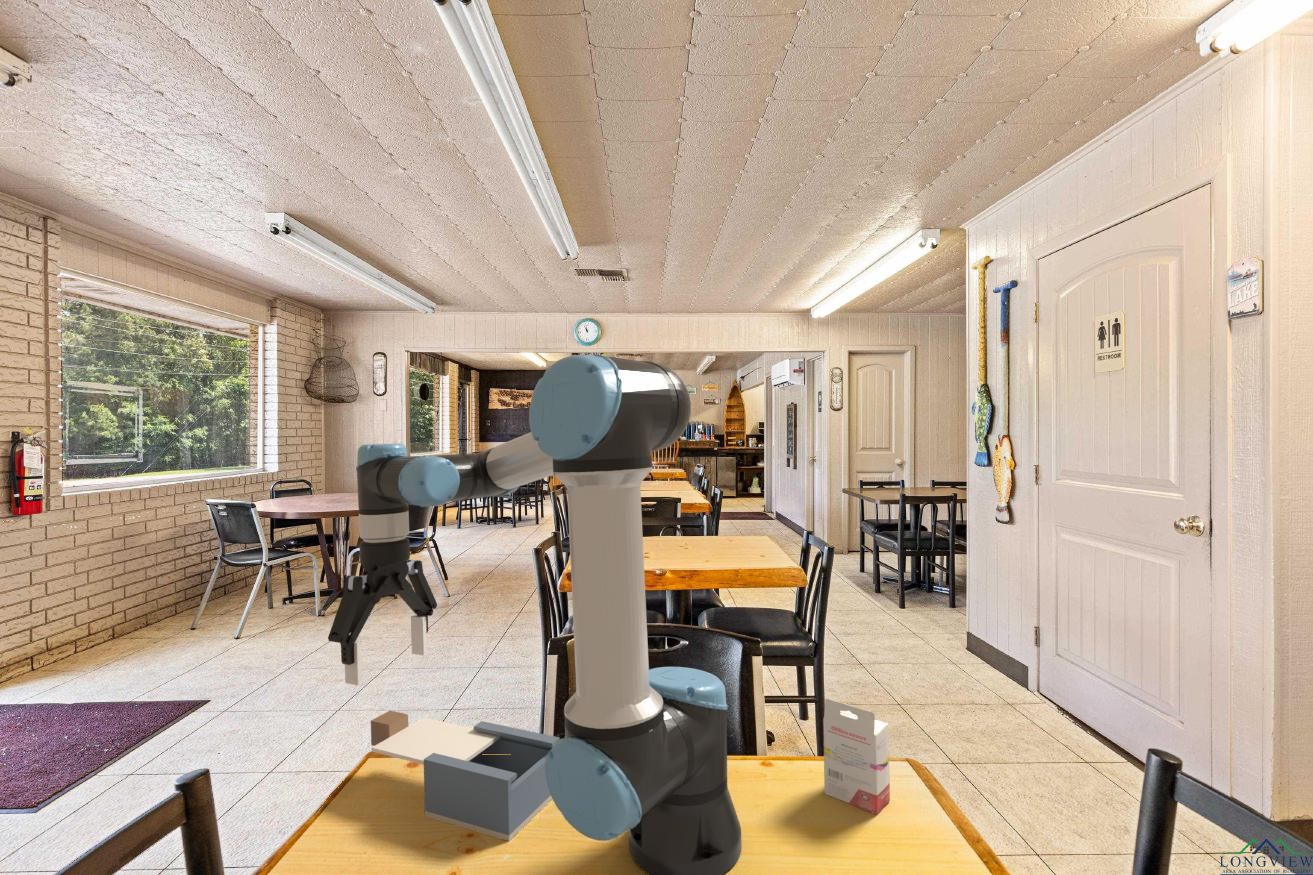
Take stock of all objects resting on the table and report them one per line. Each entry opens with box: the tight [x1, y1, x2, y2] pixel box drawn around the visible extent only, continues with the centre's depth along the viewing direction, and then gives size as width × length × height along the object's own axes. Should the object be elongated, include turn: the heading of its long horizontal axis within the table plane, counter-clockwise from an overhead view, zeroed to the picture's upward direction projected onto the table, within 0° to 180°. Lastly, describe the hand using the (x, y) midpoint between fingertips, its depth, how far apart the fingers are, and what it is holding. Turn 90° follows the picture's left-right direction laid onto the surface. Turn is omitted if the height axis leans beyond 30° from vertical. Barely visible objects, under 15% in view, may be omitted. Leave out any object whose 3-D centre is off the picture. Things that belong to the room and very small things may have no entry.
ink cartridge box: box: [822, 697, 891, 815], centre depth 96 cm, size 9×5×15 cm, turn 47°
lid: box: [370, 710, 501, 766], centre depth 102 cm, size 20×11×4 cm, turn 66°
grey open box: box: [423, 720, 560, 842], centre depth 96 cm, size 15×13×8 cm
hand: (388, 667), depth 105 cm, fingers open, 13 cm apart
